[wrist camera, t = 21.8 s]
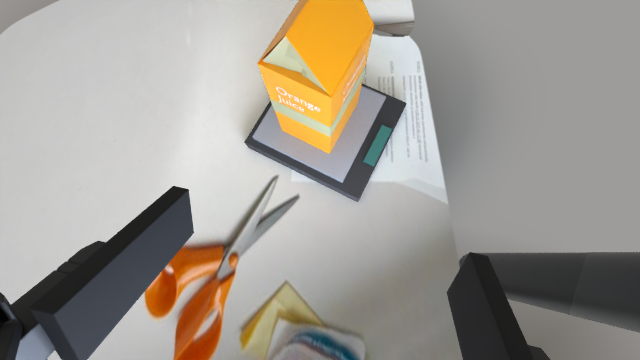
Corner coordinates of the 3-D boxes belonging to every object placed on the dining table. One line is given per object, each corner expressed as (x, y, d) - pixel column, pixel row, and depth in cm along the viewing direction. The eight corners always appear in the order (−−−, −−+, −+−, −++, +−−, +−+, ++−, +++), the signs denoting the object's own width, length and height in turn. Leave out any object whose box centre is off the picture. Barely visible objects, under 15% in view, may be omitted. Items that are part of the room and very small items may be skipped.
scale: (403, 109, 44) (408, 99, 41) (357, 202, 40) (360, 198, 37) (299, 63, 46) (297, 50, 43) (248, 147, 43) (242, 139, 40)
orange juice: (358, 102, 41) (388, -34, 21) (330, 155, 39) (333, 57, 20) (310, 80, 42) (296, -69, 22) (280, 130, 40) (236, 14, 21)
